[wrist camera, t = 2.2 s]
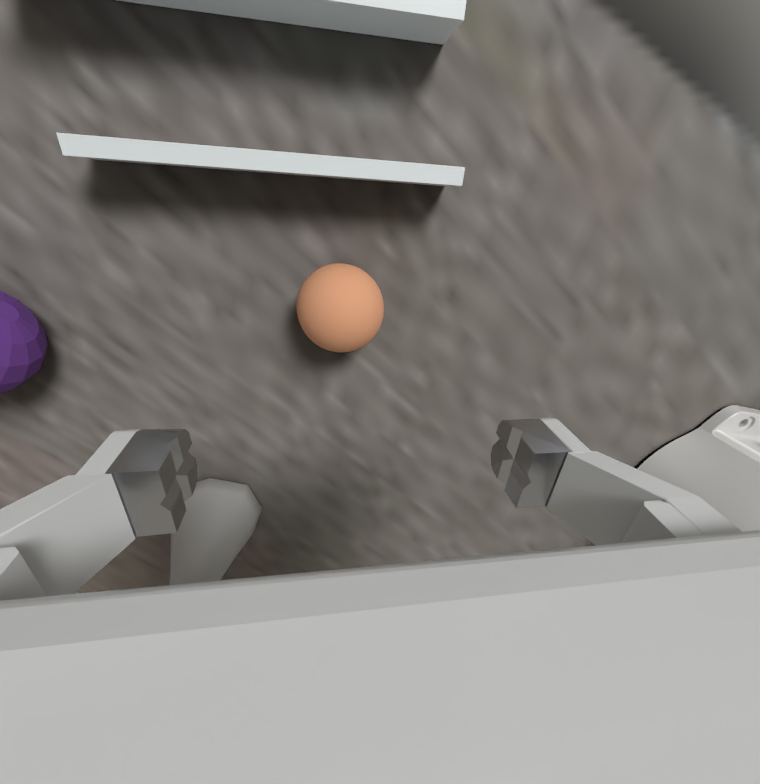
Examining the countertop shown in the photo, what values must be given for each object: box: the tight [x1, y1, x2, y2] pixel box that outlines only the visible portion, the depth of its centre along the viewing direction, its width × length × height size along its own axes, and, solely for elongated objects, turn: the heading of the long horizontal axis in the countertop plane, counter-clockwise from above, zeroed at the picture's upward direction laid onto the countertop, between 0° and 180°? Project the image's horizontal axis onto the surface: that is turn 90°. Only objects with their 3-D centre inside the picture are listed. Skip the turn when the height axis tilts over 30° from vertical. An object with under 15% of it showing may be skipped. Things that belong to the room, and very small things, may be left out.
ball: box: [297, 263, 384, 352], centre depth 21 cm, size 5×5×5 cm
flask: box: [169, 478, 262, 585], centre depth 26 cm, size 7×7×10 cm
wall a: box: [57, 133, 465, 186], centre depth 18 cm, size 18×1×3 cm, turn 86°
